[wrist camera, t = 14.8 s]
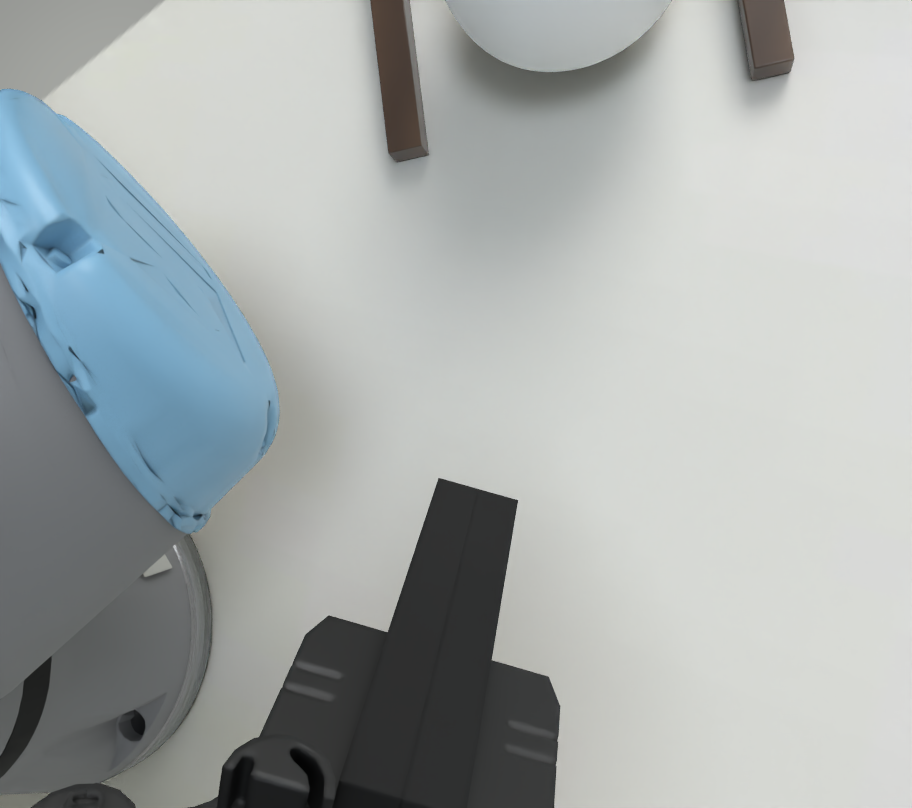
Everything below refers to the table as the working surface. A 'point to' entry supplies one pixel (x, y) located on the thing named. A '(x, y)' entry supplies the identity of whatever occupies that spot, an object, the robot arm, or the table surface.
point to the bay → (402, 84)
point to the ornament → (555, 29)
